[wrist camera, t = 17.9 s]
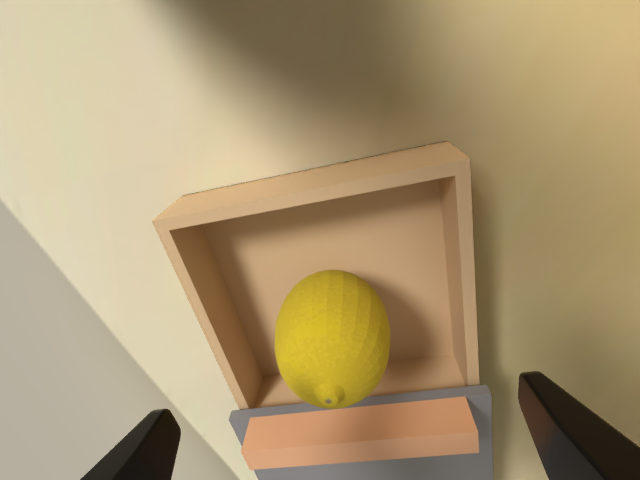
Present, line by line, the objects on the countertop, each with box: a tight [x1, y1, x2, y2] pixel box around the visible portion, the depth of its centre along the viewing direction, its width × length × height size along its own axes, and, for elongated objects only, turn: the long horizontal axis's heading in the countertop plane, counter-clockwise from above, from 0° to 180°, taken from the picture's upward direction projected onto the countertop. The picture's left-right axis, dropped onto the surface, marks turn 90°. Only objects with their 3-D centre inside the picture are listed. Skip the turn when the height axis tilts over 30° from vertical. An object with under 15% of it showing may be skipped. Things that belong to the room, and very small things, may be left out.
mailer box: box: [152, 141, 480, 410], centre depth 20 cm, size 14×14×4 cm
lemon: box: [275, 270, 390, 409], centre depth 17 cm, size 6×6×8 cm
